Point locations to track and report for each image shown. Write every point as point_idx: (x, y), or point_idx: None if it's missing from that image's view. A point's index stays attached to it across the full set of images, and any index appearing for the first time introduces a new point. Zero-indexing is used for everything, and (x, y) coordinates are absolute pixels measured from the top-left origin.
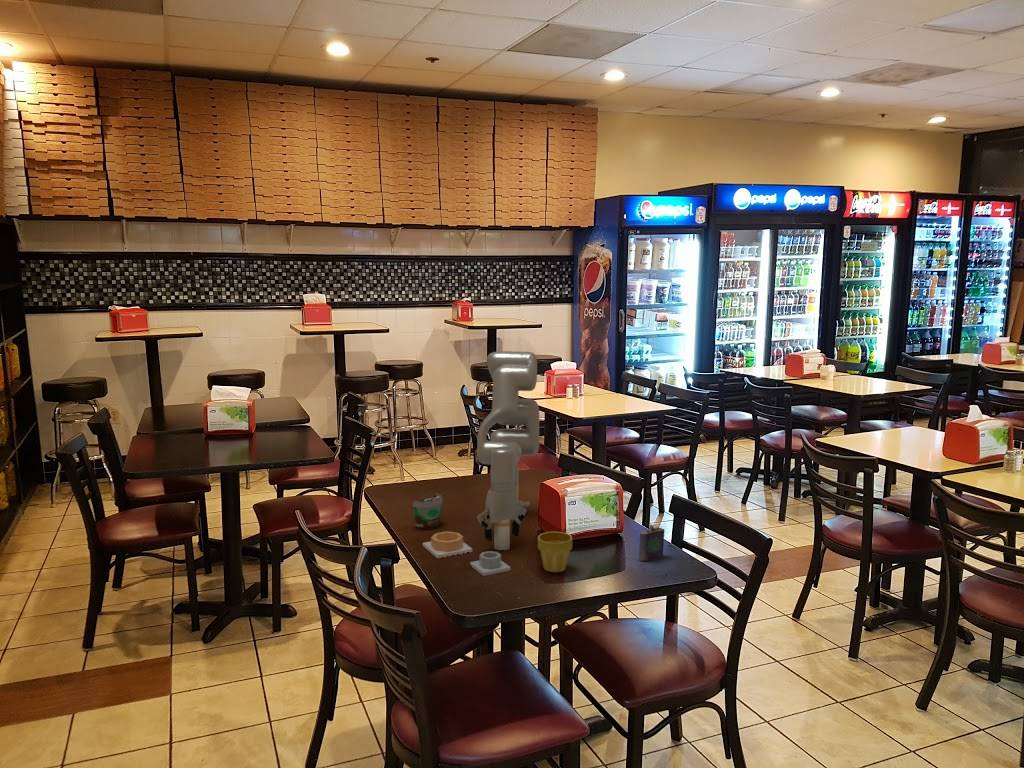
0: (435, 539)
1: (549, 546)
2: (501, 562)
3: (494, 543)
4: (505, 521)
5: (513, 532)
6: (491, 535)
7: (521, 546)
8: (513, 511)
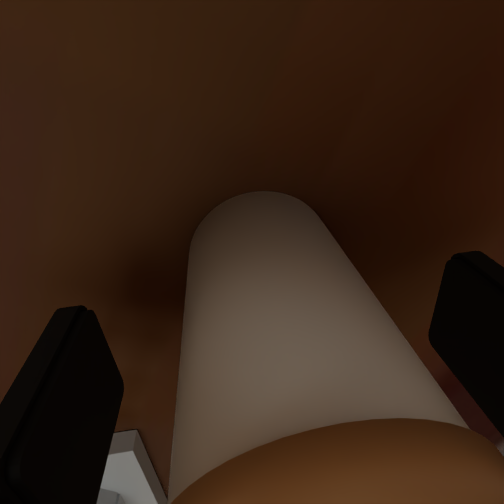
0: None
1: None
2: (142, 501)
3: (186, 284)
4: None
5: (457, 306)
6: (101, 459)
7: (416, 278)
8: None
